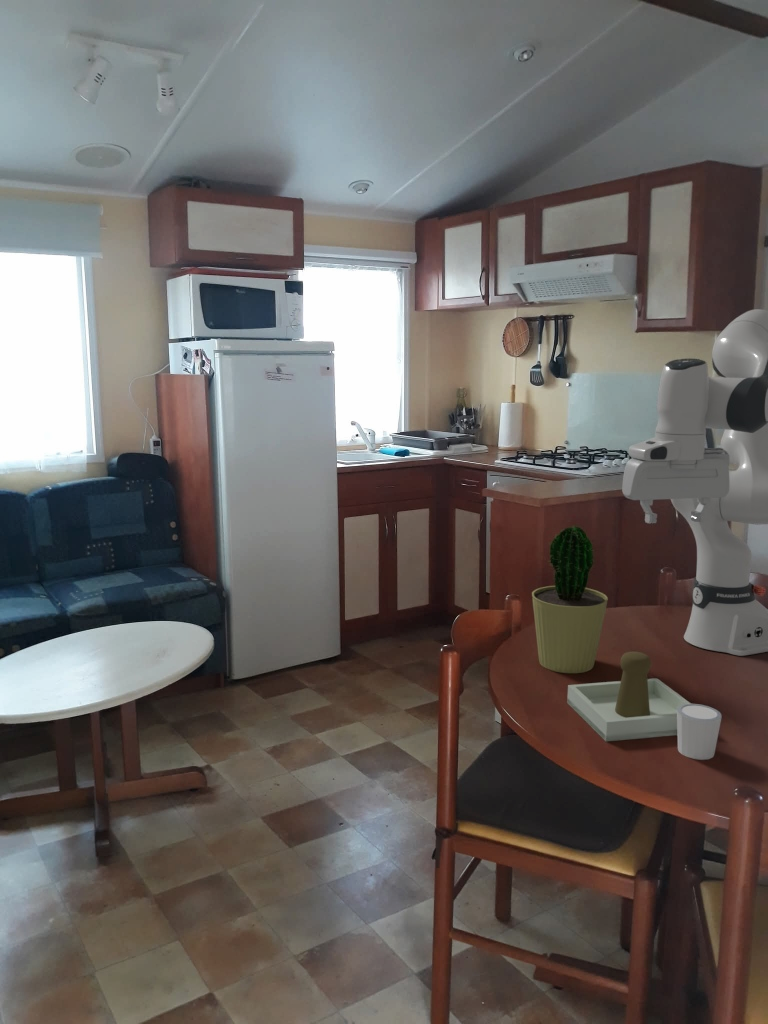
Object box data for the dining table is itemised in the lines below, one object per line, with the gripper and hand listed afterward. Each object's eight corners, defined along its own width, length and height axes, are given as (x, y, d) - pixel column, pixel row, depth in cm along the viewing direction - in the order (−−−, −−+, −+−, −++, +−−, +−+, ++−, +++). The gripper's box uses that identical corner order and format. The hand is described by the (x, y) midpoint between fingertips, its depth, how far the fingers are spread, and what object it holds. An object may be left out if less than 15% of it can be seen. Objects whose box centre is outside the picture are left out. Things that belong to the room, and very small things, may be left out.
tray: (655, 695, 159) (656, 678, 158) (702, 732, 144) (704, 713, 143) (567, 702, 156) (568, 685, 155) (605, 741, 140) (606, 722, 140)
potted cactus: (578, 647, 185) (584, 514, 179) (618, 671, 171) (627, 528, 165) (516, 654, 180) (521, 518, 174) (552, 681, 166) (559, 533, 160)
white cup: (727, 757, 135) (731, 717, 134) (692, 764, 133) (696, 723, 131) (698, 739, 141) (701, 700, 140) (664, 745, 139) (667, 706, 138)
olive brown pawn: (645, 705, 152) (649, 648, 150) (653, 720, 146) (657, 660, 144) (612, 704, 153) (615, 647, 151) (618, 718, 147) (622, 659, 145)
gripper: (720, 445, 159) (714, 516, 161) (620, 447, 155) (616, 520, 157) (740, 449, 153) (733, 523, 155) (637, 451, 149) (632, 527, 151)
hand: (673, 521), depth 156 cm, fingers open, 8 cm apart
